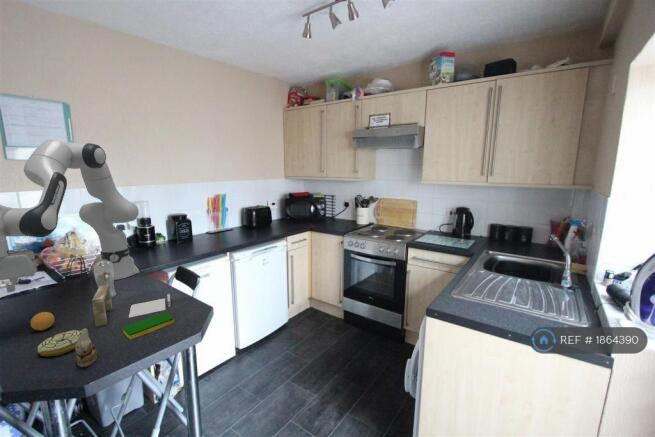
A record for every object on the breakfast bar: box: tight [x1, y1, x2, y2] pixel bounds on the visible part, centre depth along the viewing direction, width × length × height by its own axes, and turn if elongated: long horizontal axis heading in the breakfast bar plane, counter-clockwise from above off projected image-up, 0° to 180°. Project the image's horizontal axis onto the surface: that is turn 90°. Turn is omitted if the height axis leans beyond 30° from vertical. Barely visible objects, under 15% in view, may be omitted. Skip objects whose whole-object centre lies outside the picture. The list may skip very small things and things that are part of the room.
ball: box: [30, 311, 55, 331], centre depth 102 cm, size 6×6×6 cm
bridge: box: [91, 285, 113, 327], centre depth 110 cm, size 3×15×10 cm, turn 29°
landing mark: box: [128, 298, 166, 319], centre depth 117 cm, size 12×12×1 cm
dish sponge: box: [122, 312, 175, 340], centre depth 102 cm, size 7×14×2 cm, turn 140°
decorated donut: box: [37, 329, 82, 357], centre depth 91 cm, size 10×11×4 cm
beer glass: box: [92, 261, 117, 298], centre depth 128 cm, size 7×7×15 cm
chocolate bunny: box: [74, 327, 98, 368], centre depth 84 cm, size 6×8×10 cm
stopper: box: [166, 293, 172, 308], centre depth 121 cm, size 8×1×2 cm, turn 29°
